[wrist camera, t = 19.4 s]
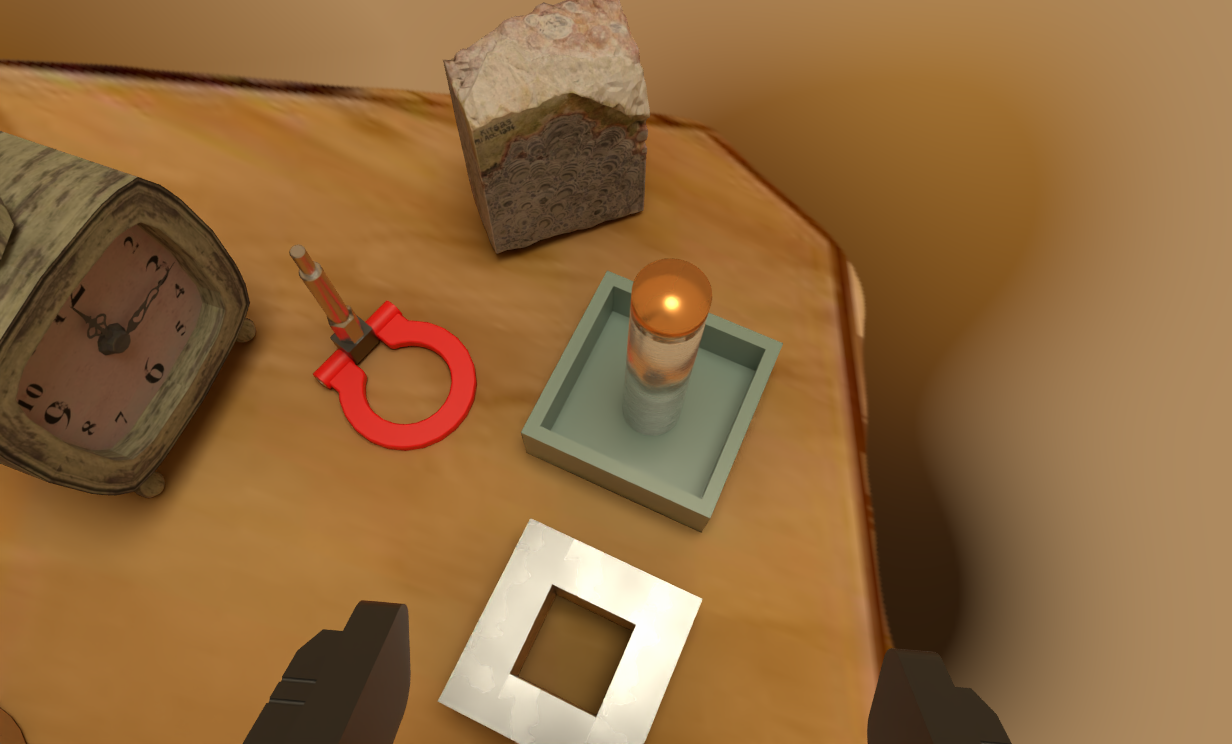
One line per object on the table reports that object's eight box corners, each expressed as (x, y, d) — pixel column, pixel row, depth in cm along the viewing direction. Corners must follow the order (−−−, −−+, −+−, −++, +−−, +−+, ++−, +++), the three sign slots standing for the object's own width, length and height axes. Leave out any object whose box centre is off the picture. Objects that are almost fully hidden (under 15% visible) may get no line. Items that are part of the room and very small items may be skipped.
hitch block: (620, 786, 42) (622, 796, 37) (453, 701, 43) (437, 701, 39) (692, 607, 45) (702, 599, 41) (536, 534, 46) (530, 518, 42)
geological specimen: (499, 267, 53) (464, 116, 39) (471, 197, 55) (428, 30, 42) (645, 218, 55) (660, 56, 41) (612, 151, 57) (616, -24, 43)
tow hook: (504, 379, 51) (398, 296, 52) (483, 290, 39) (346, 186, 40) (414, 479, 48) (305, 389, 50) (361, 417, 36) (220, 301, 38)
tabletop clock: (166, 527, 46) (-268, 360, 23) (33, 476, 47) (-508, 266, 24) (286, 319, 52) (32, 13, 28) (165, 277, 53) (-176, -52, 29)
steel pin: (666, 444, 48) (693, 342, 34) (613, 421, 49) (618, 310, 35) (689, 394, 49) (724, 276, 36) (636, 372, 50) (651, 247, 36)
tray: (701, 532, 47) (710, 518, 43) (526, 452, 48) (520, 432, 45) (769, 369, 51) (783, 343, 47) (606, 300, 52) (607, 270, 49)
